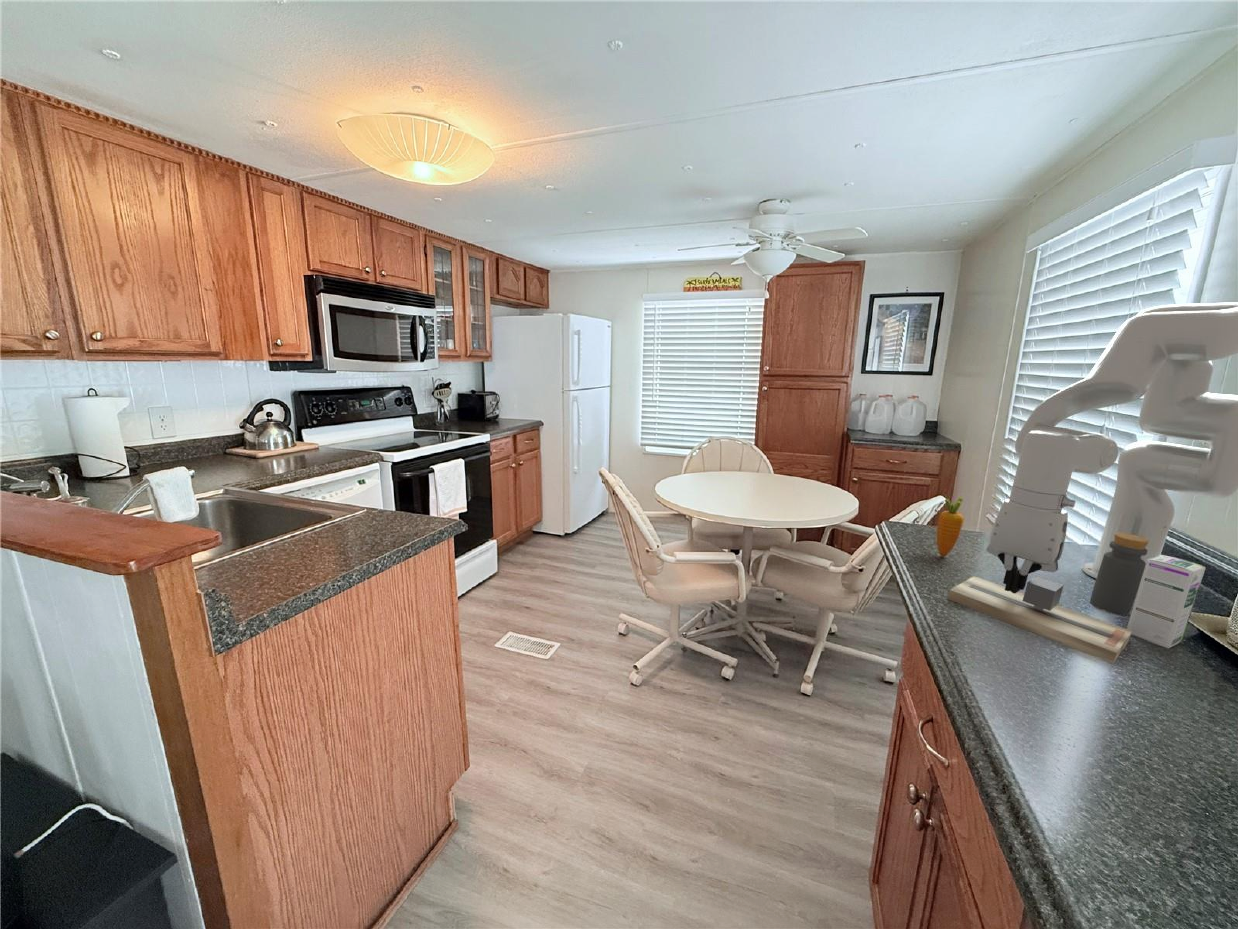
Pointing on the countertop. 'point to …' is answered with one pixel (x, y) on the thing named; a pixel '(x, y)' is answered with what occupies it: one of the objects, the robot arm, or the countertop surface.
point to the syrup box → (1165, 600)
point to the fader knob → (1043, 593)
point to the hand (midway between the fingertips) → (1012, 590)
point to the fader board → (1044, 619)
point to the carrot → (949, 528)
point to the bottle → (1120, 574)
